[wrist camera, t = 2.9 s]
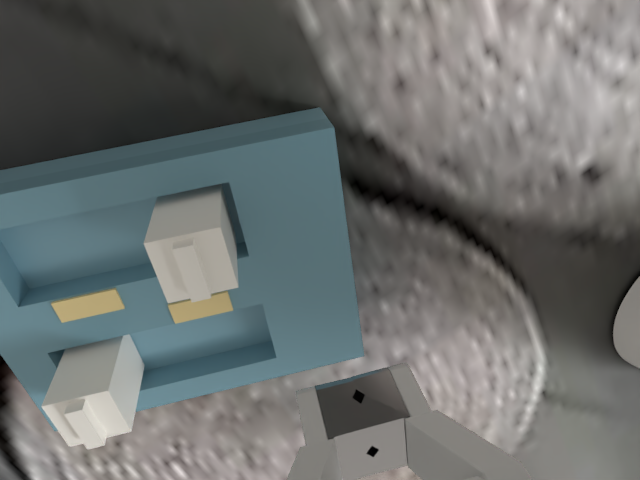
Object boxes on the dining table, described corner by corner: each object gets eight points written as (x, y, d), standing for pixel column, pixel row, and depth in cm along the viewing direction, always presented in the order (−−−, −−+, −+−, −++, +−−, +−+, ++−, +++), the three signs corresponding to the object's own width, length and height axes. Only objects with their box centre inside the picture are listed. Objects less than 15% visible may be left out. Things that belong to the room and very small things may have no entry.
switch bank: (319, 107, 23) (334, 128, 20) (350, 318, 30) (365, 357, 27) (-54, 180, 22) (-101, 215, 18) (72, 384, 29) (54, 433, 26)
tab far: (125, 326, 25) (105, 400, 21) (144, 365, 26) (129, 442, 22) (69, 339, 25) (36, 417, 20) (91, 377, 26) (65, 457, 22)
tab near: (220, 182, 22) (220, 234, 18) (235, 235, 23) (239, 296, 19) (157, 195, 22) (140, 251, 17) (177, 248, 23) (166, 312, 19)
